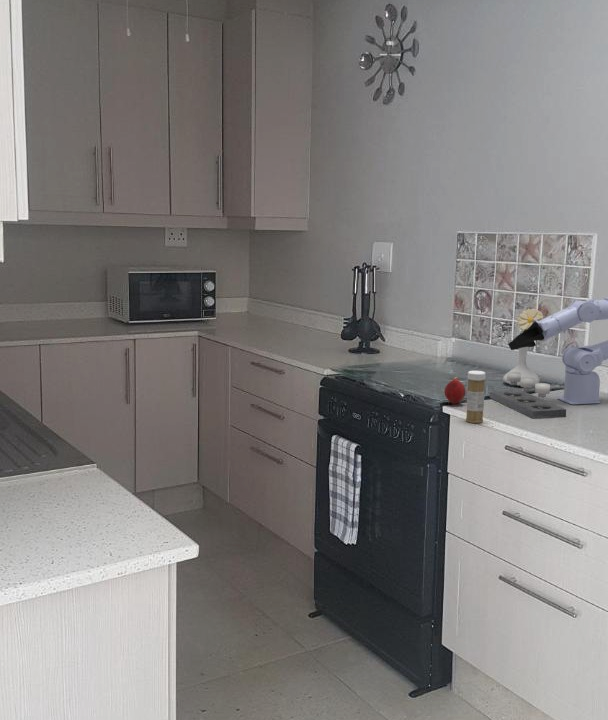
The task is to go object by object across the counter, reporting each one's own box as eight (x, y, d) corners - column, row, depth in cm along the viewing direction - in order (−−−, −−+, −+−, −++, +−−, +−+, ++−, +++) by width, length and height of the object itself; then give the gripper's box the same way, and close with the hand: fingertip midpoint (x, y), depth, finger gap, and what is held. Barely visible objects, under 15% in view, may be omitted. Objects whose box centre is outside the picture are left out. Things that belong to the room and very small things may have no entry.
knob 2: (544, 394, 231) (545, 382, 231) (552, 397, 228) (553, 385, 227) (531, 395, 230) (532, 383, 230) (539, 398, 227) (539, 386, 226)
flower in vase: (495, 383, 269) (499, 306, 264) (519, 379, 275) (523, 304, 271) (526, 391, 258) (531, 310, 254) (551, 386, 264) (556, 308, 260)
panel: (520, 396, 251) (520, 389, 250) (565, 416, 227) (566, 409, 226) (489, 397, 248) (490, 391, 248) (532, 418, 224) (533, 411, 224)
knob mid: (529, 388, 239) (530, 377, 238) (537, 391, 235) (537, 379, 235) (517, 389, 238) (518, 377, 237) (524, 392, 234) (525, 380, 234)
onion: (458, 407, 235) (460, 380, 234) (440, 404, 239) (441, 377, 237) (468, 404, 240) (469, 376, 238) (450, 401, 243) (451, 374, 242)
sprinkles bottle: (477, 418, 223) (479, 369, 221) (486, 423, 219) (489, 372, 217) (462, 420, 222) (464, 370, 219) (471, 424, 218) (473, 373, 215)
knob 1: (516, 382, 247) (516, 371, 246) (522, 385, 243) (523, 374, 242) (503, 383, 246) (504, 372, 245) (510, 386, 242) (511, 374, 241)
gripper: (541, 318, 247) (500, 337, 246) (555, 305, 233) (512, 326, 232) (552, 339, 246) (512, 358, 245) (567, 328, 232) (524, 348, 230)
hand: (513, 344), depth 238 cm, fingers open, 7 cm apart
